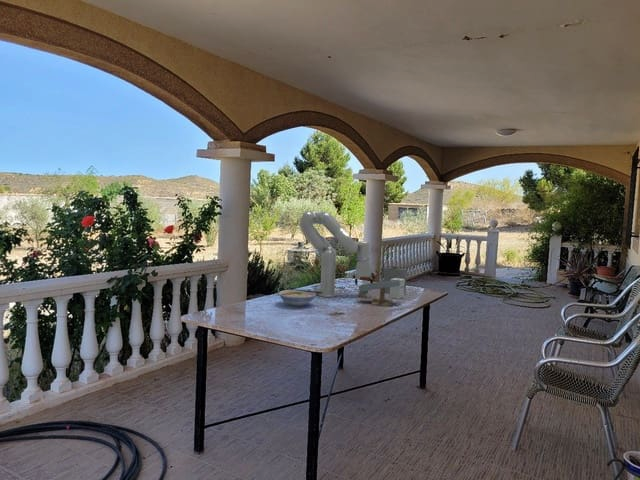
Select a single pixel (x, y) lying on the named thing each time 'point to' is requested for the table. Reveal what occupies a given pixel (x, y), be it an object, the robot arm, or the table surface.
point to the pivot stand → (382, 299)
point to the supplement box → (397, 289)
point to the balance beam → (378, 286)
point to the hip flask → (394, 276)
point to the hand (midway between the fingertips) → (363, 285)
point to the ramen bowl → (297, 296)
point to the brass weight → (360, 294)
